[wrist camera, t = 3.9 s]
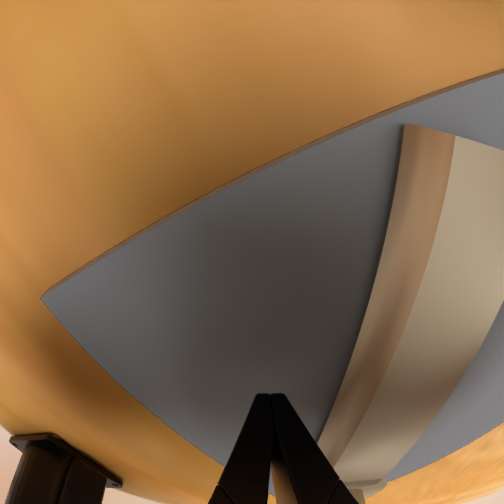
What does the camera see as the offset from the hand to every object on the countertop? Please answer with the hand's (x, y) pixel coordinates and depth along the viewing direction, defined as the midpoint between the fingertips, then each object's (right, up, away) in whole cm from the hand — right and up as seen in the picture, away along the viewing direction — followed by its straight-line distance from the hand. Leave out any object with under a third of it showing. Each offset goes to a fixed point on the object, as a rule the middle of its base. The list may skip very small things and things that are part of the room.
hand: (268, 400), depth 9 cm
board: (+9, -1, +2) cm, 9 cm away
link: (+4, 0, +1) cm, 4 cm away
